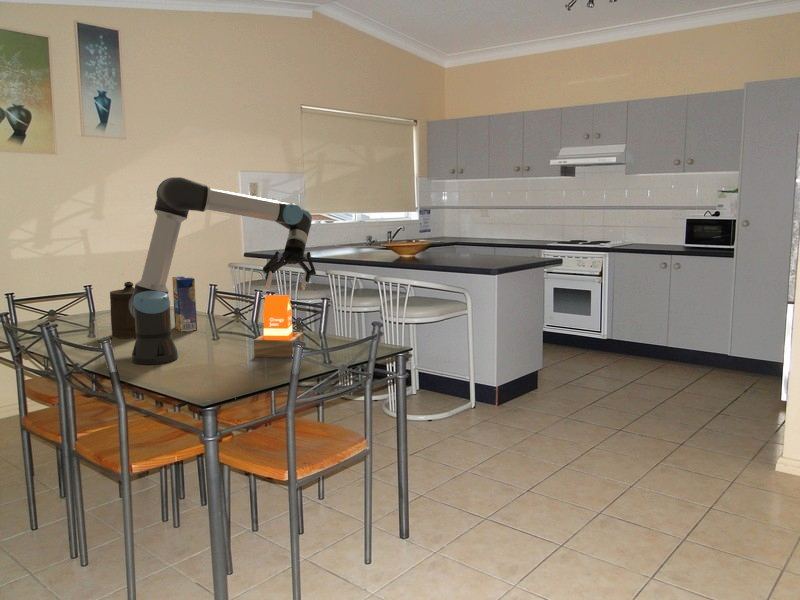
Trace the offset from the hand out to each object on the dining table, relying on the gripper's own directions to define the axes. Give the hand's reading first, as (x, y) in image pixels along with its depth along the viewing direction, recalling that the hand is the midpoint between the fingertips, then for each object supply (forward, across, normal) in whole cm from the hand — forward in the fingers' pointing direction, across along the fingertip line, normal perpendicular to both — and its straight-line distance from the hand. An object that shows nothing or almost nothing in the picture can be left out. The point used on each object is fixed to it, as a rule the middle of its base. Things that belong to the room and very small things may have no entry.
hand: (285, 287), depth 249 cm
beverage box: (-4, +54, -36) cm, 65 cm away
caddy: (+21, 0, -11) cm, 24 cm away
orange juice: (+20, +1, -11) cm, 23 cm away
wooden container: (+7, +71, -26) cm, 76 cm away
